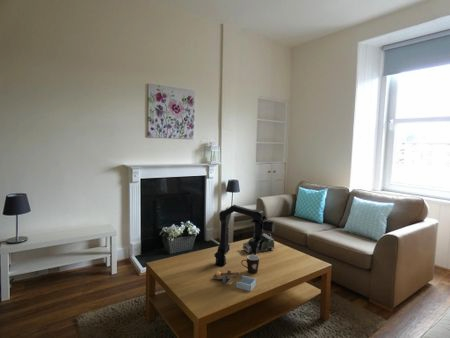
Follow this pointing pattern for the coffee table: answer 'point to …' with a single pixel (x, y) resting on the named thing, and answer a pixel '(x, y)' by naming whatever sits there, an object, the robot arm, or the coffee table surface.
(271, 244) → the toy van
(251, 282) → the dish
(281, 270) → the coffee table surface
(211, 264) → the coffee table surface
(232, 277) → the lever
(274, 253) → the coffee table surface
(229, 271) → the pivot stand
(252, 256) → the coffee mug
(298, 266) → the coffee table surface
